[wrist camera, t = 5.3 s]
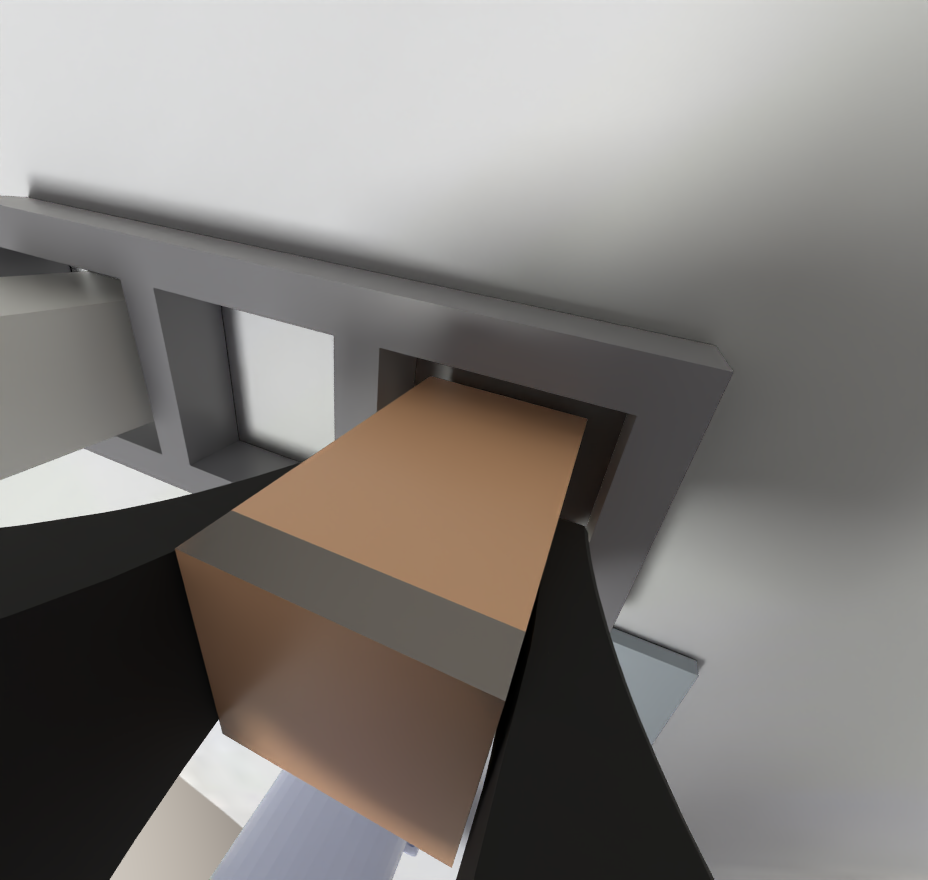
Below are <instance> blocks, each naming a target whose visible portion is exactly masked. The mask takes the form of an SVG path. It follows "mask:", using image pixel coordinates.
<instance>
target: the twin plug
mask: <svg viewBox="0 0 928 880" xmlns="http://www.w3.org/2000/svg"><path fill="white" fill-rule="evenodd" d="M153 421H154V418H153V413H152V409H151V405H150V401H149V397H148V393H147V389H146V384H145V380H144V376H143V372H142V368H141V364H140V359H139V355H138V351H137V347H136V343H135V339H134V335H133V330H132V326H131V322H130V318H129V314H128V310H127V305H126V301H125V297H124V293H123V289H122V285H121V281H120V280H119V279H115V278H111V277H107V276H104V275H100V274H96V273H92V272H89V271H82V272H67V273H52V274H37V275H22V276H7V277H0V480H2V479H4V478H7V477H10V476H12V475H15V474H17V473H20V472H23V471H25V470H28V469H30V468H33V467H36V466H38V465H41V464H44V463H46V462H49V461H51V460H54V459H57V458H59V457H62V456H64V455H67V454H70V453H72V452H75V451H77V450H80V449H83V448H85V447H88V446H90V445H93V444H96V443H98V442H101V441H104V440H106V439H109V438H111V437H114V436H117V435H119V434H122V433H124V432H127V431H130V430H132V429H135V428H137V427H140V426H143V425H145V424H148V423H150V422H153Z"/></svg>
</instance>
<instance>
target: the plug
mask: <svg viewBox="0 0 928 880" xmlns="http://www.w3.org/2000/svg"><path fill="white" fill-rule="evenodd" d="M586 423H587V418H583V417H579V416H576V415H572V414H568V413H565V412H561V411H557V410H554V409H550V408H546V407H542V406H539V405H535V404H531V403H528V402H524V401H520V400H517V399H513V398H509V397H506V396H502V395H498V394H495V393H491V392H487V391H484V390H480V389H476V388H473V387H469V386H465V385H462V384H458V383H454V382H451V381H447V380H443V379H440V378H436V377H432V376H430V377H428V378H427V379H425V380H424V381H422V382H421V383H419V384H418V385H416V386H415V387H413V388H412V389H411V390H409V391H408V392H406V393H405V394H403V395H402V396H400V397H399V398H397V399H396V400H394V401H393V402H391V403H390V404H388V405H387V406H385V407H384V408H382V409H381V410H379V411H378V412H376V413H375V414H373V415H372V416H371V417H369V418H368V419H366V420H365V421H363V422H362V423H360V424H359V425H357V426H356V427H354V428H353V429H351V430H350V431H348V432H347V433H345V434H344V435H342V436H341V437H339V438H338V439H336V440H335V441H333V442H332V443H330V444H329V445H328V446H326V447H325V448H323V449H322V450H320V451H319V452H317V453H316V454H314V455H313V456H311V457H310V458H308V459H307V460H305V461H304V462H302V463H301V464H299V465H298V466H296V467H295V468H293V469H292V470H290V471H289V472H288V473H286V474H285V475H283V476H282V477H280V478H279V479H277V480H276V481H274V482H273V483H271V484H270V485H268V486H267V487H265V488H264V489H262V490H261V491H259V492H258V493H256V494H255V495H253V496H252V497H250V498H249V499H247V500H246V501H245V502H243V503H242V504H240V505H239V506H237V507H236V508H234V509H233V510H231V511H230V512H228V513H227V514H225V515H224V516H222V517H221V518H219V519H218V520H216V521H215V522H213V523H212V524H210V525H209V526H207V527H206V528H204V529H203V530H202V531H200V532H199V533H197V534H196V535H194V536H193V537H191V538H190V539H188V540H187V541H185V542H184V543H182V544H181V545H179V546H178V547H176V548H175V551H176V555H177V559H178V563H179V567H180V571H181V575H182V578H183V582H184V586H185V590H186V594H187V598H188V602H189V605H190V609H191V613H192V617H193V621H194V625H195V629H196V632H197V636H198V640H199V644H200V648H201V652H202V656H203V659H204V663H205V667H206V671H207V675H208V679H209V683H210V686H211V690H212V694H213V698H214V702H215V706H216V710H217V713H218V717H219V721H220V725H221V729H222V733H223V734H224V735H226V736H227V737H229V738H231V739H233V740H234V741H236V742H238V743H239V744H241V745H243V746H244V747H246V748H248V749H250V750H251V751H253V752H255V753H256V754H258V755H260V756H262V757H263V758H265V759H267V760H268V761H270V762H272V763H274V764H275V765H277V766H279V767H280V768H282V769H284V770H285V771H287V772H289V773H291V774H292V775H294V776H296V777H297V778H299V779H301V780H303V781H304V782H306V783H308V784H309V785H311V786H313V787H315V788H316V789H318V790H320V791H321V792H323V793H325V794H326V795H328V796H330V797H332V798H333V799H335V800H337V801H338V802H340V803H342V804H344V805H345V806H347V807H349V808H350V809H352V810H354V811H356V812H357V813H359V814H361V815H362V816H364V817H366V818H367V819H369V820H371V821H373V822H374V823H376V824H378V825H379V826H381V827H383V828H385V829H386V830H388V831H390V832H391V833H393V834H395V835H397V836H398V837H400V838H402V839H403V840H405V841H407V842H408V843H410V844H412V845H414V846H415V847H417V848H419V849H420V850H422V851H424V852H426V853H427V854H429V855H431V856H432V857H434V858H436V859H438V860H439V861H441V862H443V863H444V864H446V865H448V866H449V867H451V868H452V865H453V862H454V859H455V856H456V853H457V850H458V847H459V844H460V841H461V837H462V834H463V831H464V828H465V825H466V822H467V819H468V816H469V813H470V809H471V806H472V803H473V800H474V797H475V794H476V791H477V788H478V785H479V782H480V778H481V775H482V772H483V769H484V766H485V763H486V760H487V757H488V754H489V750H490V747H491V744H492V741H493V738H494V735H495V732H496V729H497V726H498V722H499V719H500V716H501V713H502V710H503V707H504V704H505V701H506V697H507V694H508V690H509V687H510V683H511V680H512V677H513V673H514V670H515V666H516V663H517V659H518V656H519V653H520V649H521V646H522V642H523V639H524V635H525V632H526V629H527V625H528V622H529V618H530V615H531V611H532V608H533V605H534V601H535V598H536V594H537V591H538V587H539V584H540V581H541V577H542V574H543V570H544V567H545V563H546V560H547V557H548V553H549V550H550V546H551V543H552V539H553V536H554V533H555V529H556V526H557V522H558V519H559V515H560V512H561V509H562V505H563V502H564V498H565V495H566V491H567V488H568V485H569V481H570V478H571V474H572V471H573V467H574V464H575V461H576V457H577V454H578V450H579V447H580V443H581V440H582V436H583V433H584V430H585V426H586Z"/></svg>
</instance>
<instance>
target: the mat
mask: <svg viewBox="0 0 928 880" xmlns="http://www.w3.org/2000/svg"><path fill="white" fill-rule="evenodd" d="M610 635H611V638H612V642H613V645H614V648H615V651H616V654H617V657H618V660H619V663H620V666H621V668H622V671H623V674H624V677H625V680H626V683H627V686H628V688H629V691H630V694H631V696H632V699H633V702H634V704H635V707H636V709H637V712H638V715H639V717H640V720H641V722H642V724H643V727H644V729H645V732H646V734H647V736H648V739H649V741H650V744H651V745H652V744H653V742H654V741H655V739H656V738H657V736H658V735H659V733H660V732H661V731H662V729H663V728H664V726H665V725H666V723H667V722H668V720H669V719H670V717H671V716H672V714H673V713H674V711H675V710H676V709H677V707H678V706H679V704H680V703H681V701H682V700H683V698H684V697H685V695H686V694H687V692H688V691H689V689H690V688H691V686H692V685H693V684H694V682H695V681H696V679H697V678H698V676H699V675H698V667H697V661H696V660H693V659H691V658H688V657H686V656H683V655H680V654H678V653H675V652H673V651H670V650H668V649H665V648H663V647H660V646H657V645H655V644H652V643H650V642H647V641H645V640H642V639H640V638H637V637H635V636H632V635H629V634H627V633H624V632H622V631H619V630H617V629H614V628H612V630H611V632H610ZM495 733H496V732H495ZM494 737H495V735H494Z"/></svg>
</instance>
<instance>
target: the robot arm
mask: <svg viewBox="0 0 928 880" xmlns="http://www.w3.org/2000/svg"><path fill="white" fill-rule="evenodd" d="M303 462H304V461H303ZM301 463H302V462H300V463H297V464H294V465H291V466H287V467H284V468H281V469H278V470H274V471H271V472H268V473H265V474H262V475H258V476H255V477H252V478H248V479H245V480H241V481H237V482H234V483H230V484H226V485H223V486H219V487H216V488H212V489H208V490H205V491H201V492H197V493H194V494H190V495H186V496H182V497H177V498H173V499H169V500H164V501H160V502H155V503H150V504H146V505H141V506H136V507H131V508H126V509H121V510H116V511H110V512H105V513H99V514H92V515H86V516H79V517H73V518H66V519H60V520H53V521H47V522H40V523H34V524H27V525H20V526H12V527H3V528H0V880H110V878H111V876H112V875H113V873H114V872H115V870H116V869H117V867H118V866H119V864H120V863H121V861H122V859H123V858H124V856H125V854H126V853H127V851H128V850H129V848H130V847H131V845H132V844H133V842H134V840H135V839H136V838H137V836H138V835H139V833H140V832H141V830H142V829H143V827H144V826H145V824H146V823H147V821H148V820H149V818H150V817H151V816H152V814H153V812H154V811H155V810H156V808H157V807H158V805H159V804H160V802H161V801H162V799H163V798H164V796H165V795H166V793H167V792H168V790H169V789H170V788H171V786H172V785H173V783H174V781H175V780H176V779H177V777H178V776H179V774H180V773H181V771H182V770H183V768H184V767H185V766H186V764H187V763H188V761H189V760H190V759H191V757H192V756H193V754H194V753H195V752H196V750H197V749H198V748H199V746H200V745H201V743H202V742H203V741H204V739H205V738H206V736H207V735H208V734H209V732H210V731H211V729H212V728H213V727H214V725H215V724H216V722H217V721H218V720H219V717H218V713H217V710H216V706H215V702H214V698H213V694H212V690H211V686H210V683H209V679H208V675H207V671H206V667H205V663H204V659H203V656H202V652H201V648H200V644H199V640H198V636H197V632H196V629H195V625H194V621H193V617H192V613H191V609H190V605H189V602H188V598H187V594H186V590H185V586H184V582H183V578H182V575H181V571H180V567H179V563H178V559H177V555H176V551H175V548H176V547H178V546H179V545H181V544H182V543H184V542H185V541H187V540H188V539H190V538H191V537H193V536H194V535H196V534H197V533H199V532H200V531H202V530H203V529H204V528H206V527H207V526H209V525H210V524H212V523H213V522H215V521H216V520H218V519H219V518H221V517H222V516H224V515H225V514H227V513H228V512H230V511H231V510H233V509H234V508H236V507H237V506H239V505H240V504H242V503H243V502H245V501H246V500H247V499H249V498H250V497H252V496H253V495H255V494H256V493H258V492H259V491H261V490H262V489H264V488H265V487H267V486H268V485H270V484H271V483H273V482H274V481H276V480H277V479H279V478H280V477H282V476H283V475H285V474H286V473H288V472H289V471H290V470H292V469H293V468H295V467H296V466H298V465H299V464H301ZM418 850H419V848H417V847H415V846H414V845H412V844H410V843H408V842H407V841H405V840H403V839H402V838H400V837H398V836H397V835H395V834H393V833H391V832H390V831H388V830H386V829H385V828H383V827H381V826H379V825H378V824H376V823H374V822H373V821H371V820H369V819H367V818H366V817H364V816H362V815H361V814H359V813H357V812H356V811H354V810H352V809H350V808H349V807H347V806H345V805H344V804H342V803H340V802H338V801H337V800H335V799H333V798H332V797H330V796H328V795H326V794H325V793H323V792H321V791H320V790H318V789H316V788H315V787H313V786H311V785H309V784H308V783H306V782H304V781H303V780H301V779H299V778H297V777H296V776H294V775H292V774H291V773H289V772H287V771H285V770H284V769H283V770H282V771H281V773H280V774H279V776H278V777H277V779H276V780H275V782H274V783H273V785H272V786H271V788H270V789H269V791H268V792H267V794H266V795H265V797H264V798H263V799H262V801H261V802H260V804H259V805H258V807H257V808H256V810H255V811H254V813H253V814H252V816H251V817H250V819H249V820H248V822H247V823H246V825H245V826H244V828H243V829H242V831H241V832H240V834H239V836H238V837H237V838H236V840H235V841H234V843H233V844H232V846H231V848H230V849H229V850H228V852H227V853H226V855H225V856H224V858H223V859H222V861H221V862H220V864H219V865H218V867H217V868H216V870H215V871H214V873H213V874H212V876H211V877H210V879H209V880H392V879H393V876H394V874H395V871H396V868H397V866H398V863H399V861H400V858H401V855H402V853H403V852H405V853H407V854H409V855H411V856H416V855H417V853H418ZM456 880H714V878H713V876H712V874H711V872H710V870H709V868H708V866H707V864H706V862H705V860H704V858H703V856H702V854H701V852H700V850H699V848H698V846H697V844H696V842H695V840H694V838H693V836H692V834H691V832H690V830H689V828H688V826H687V824H686V822H685V820H684V818H683V816H682V814H681V812H680V809H679V807H678V805H677V803H676V800H675V798H674V796H673V794H672V792H671V789H670V787H669V785H668V783H667V780H666V778H665V776H664V774H663V771H662V769H661V767H660V765H659V763H658V760H657V758H656V756H655V753H654V751H653V748H652V746H651V744H650V741H649V739H648V736H647V734H646V732H645V729H644V727H643V724H642V722H641V720H640V717H639V715H638V712H637V709H636V707H635V704H634V702H633V699H632V696H631V694H630V691H629V688H628V686H627V683H626V680H625V677H624V674H623V671H622V668H621V666H620V663H619V660H618V657H617V654H616V651H615V648H614V645H613V642H612V638H611V635H610V632H609V629H608V625H607V622H606V618H605V614H604V611H603V607H602V603H601V600H600V596H599V592H598V588H597V584H596V579H595V575H594V570H593V565H592V560H591V554H590V547H589V537H588V531H587V530H586V528H585V526H583V525H580V524H577V523H574V522H571V521H568V520H565V519H562V518H559V519H558V522H557V526H556V529H555V533H554V536H553V539H552V543H551V546H550V550H549V553H548V557H547V560H546V563H545V567H544V570H543V574H542V577H541V581H540V584H539V587H538V591H537V594H536V598H535V601H534V605H533V608H532V611H531V615H530V618H529V622H528V625H527V629H526V632H525V635H524V639H523V642H522V646H521V649H520V653H519V656H518V659H517V663H516V666H515V670H514V673H513V677H512V680H511V683H510V687H509V690H508V694H507V697H506V701H505V704H504V707H503V710H502V713H501V716H500V719H499V722H498V726H497V729H496V733H495V737H494V742H493V747H492V752H491V757H490V761H489V765H488V769H487V773H486V777H485V781H484V785H483V789H482V793H481V796H480V799H479V803H478V806H477V810H476V813H475V817H474V820H473V824H472V827H471V830H470V834H469V837H468V841H467V844H466V848H465V851H464V855H463V858H462V861H461V865H460V868H459V872H458V875H457V879H456Z"/></svg>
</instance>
